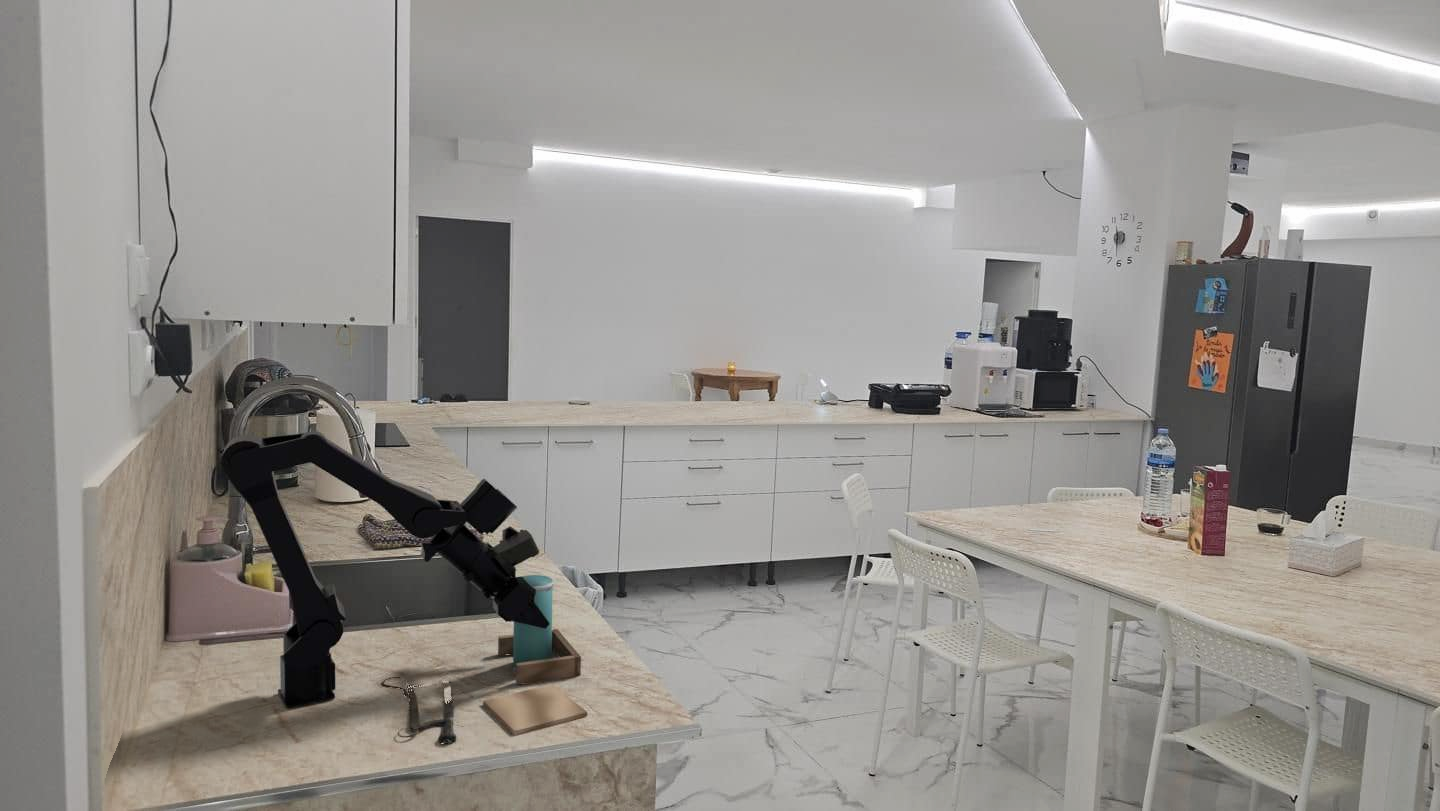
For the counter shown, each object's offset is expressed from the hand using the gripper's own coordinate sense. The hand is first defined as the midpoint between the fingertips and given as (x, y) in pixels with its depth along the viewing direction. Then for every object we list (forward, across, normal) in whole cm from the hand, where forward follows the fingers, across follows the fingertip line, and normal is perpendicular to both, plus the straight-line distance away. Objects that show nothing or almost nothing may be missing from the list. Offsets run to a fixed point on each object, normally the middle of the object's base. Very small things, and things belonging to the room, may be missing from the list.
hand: (539, 616), depth 146 cm
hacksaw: (-8, -10, +20) cm, 24 cm away
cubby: (+5, 0, +6) cm, 8 cm away
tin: (+5, 0, +6) cm, 8 cm away
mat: (+2, -16, +9) cm, 18 cm away
